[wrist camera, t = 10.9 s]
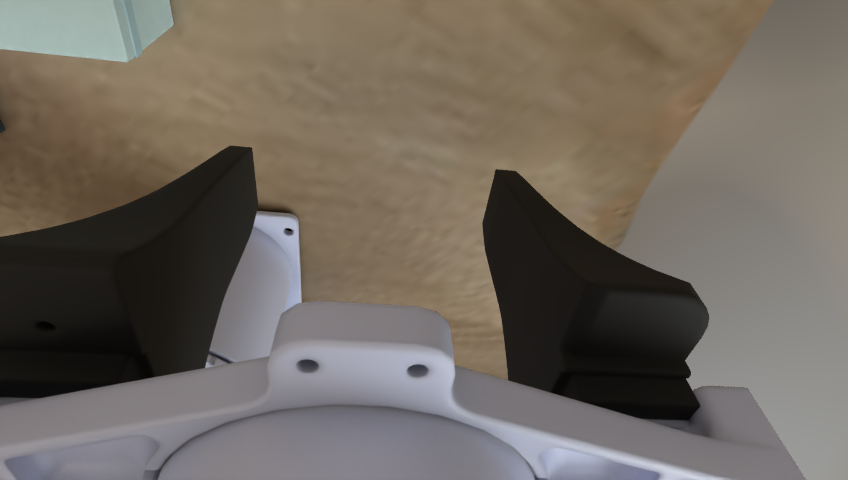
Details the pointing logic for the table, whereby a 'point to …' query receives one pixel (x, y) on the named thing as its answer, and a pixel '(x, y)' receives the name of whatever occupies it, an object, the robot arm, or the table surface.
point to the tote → (1, 127)
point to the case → (83, 27)
